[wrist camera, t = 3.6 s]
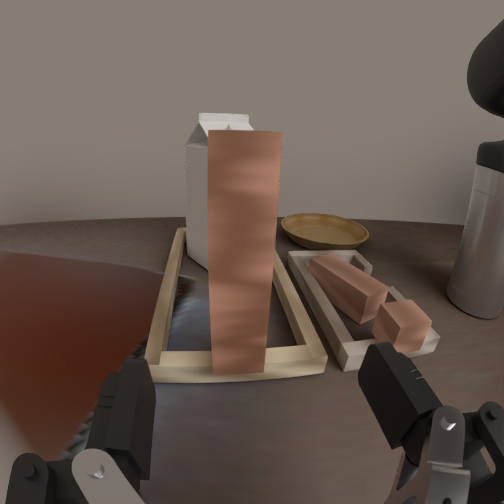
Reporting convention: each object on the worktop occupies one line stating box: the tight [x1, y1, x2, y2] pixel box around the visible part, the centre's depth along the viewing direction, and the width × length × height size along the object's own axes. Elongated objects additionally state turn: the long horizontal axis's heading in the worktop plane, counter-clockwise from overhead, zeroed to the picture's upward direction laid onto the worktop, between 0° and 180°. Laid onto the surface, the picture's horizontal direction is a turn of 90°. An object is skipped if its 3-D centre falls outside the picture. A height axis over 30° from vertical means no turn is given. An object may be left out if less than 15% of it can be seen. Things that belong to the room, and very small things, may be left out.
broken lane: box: [287, 250, 440, 372], centre depth 30 cm, size 10×21×5 cm, turn 7°
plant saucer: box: [281, 213, 369, 251], centre depth 48 cm, size 15×15×3 cm
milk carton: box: [185, 113, 253, 270], centre depth 36 cm, size 7×7×19 cm
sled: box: [144, 130, 328, 383], centre depth 29 cm, size 13×30×17 cm, turn 7°
